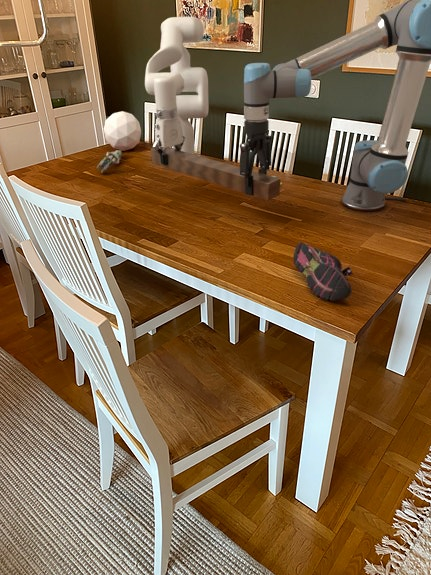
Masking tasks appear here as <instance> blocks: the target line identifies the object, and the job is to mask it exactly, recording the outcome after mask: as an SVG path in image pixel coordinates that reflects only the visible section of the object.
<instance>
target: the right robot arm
mask: <svg viewBox="0 0 431 575" xmlns="http://www.w3.org/2000/svg"><path fill="white" fill-rule="evenodd" d="M395 46H396V48H395V53H396V54H397V57H398V62H397V66H396V69H395V72H394V77H393V81H392V85H391V89H390V93H389V96H388V100H387V104H386V108H385V112H384V115H383V119H382V122H381V126H380V130H379V134H378V138H377V140H373V139H371V140H370V139H369V140H368V139H366V140H359V141H357V142H356V143H355V144H354V149H353V154H352V155H353V156H352V163H351V164H352V165H351V169H350V177H349V183H348V184H347V187H346V189H345V192H344V194H343V196H342V199H341V205H343V206H344V207H345V208H347V209H350V210H352V211H356V212H363V213H364V212H367V213H368V212H377V211H380V210H382V209H384V207H385V204H386V202H404V203H406V201H407V199H406V198H395V197H394V198H393V197H385V195H389V194H393V193H395V192H396V191H398V190H400V189H401V188H402V187H403V186H404V185H405V184H406V182H407V179H408V176H409V171H408V168H407V165H406V163H407V161H408V160H407V159H408V156H409V150H408V149H407V147H406V146H407V145H406V144H407V142H408V139H409V135H410V131H411V128H412V124H413V121H414V118H415V115H416V112H417V108H418V105H419V102H420V98H421V95H422V92H423V88H424V86H425V82H426V78H427V74H428V72H429V68H430V65H431V0H405V1H403V2H401V3H400V4H398V5H396V6H394V7H392V8H390V9H389V10H387V11H385V12H382V13H381V14H379V15H377V16H376V17H375V18H374V21H372V22H370V23H368V24H366V25H364V26H362V27H359V28H357V29H355V30H353V31H351V32H349V33H347V34H344V35H342V36H340V37H338V38H336V39H333V40H332V41H330V42H327V43H326V44H324V45H321V46H318V47H317V48H315V49H312V50H311V51H309V52H307V53H305V54H302V55H300V56H298V57H296V58H293V59H291V60H290V61H287V62H282V63H279V64H277V65H275V66H274V68H273V69H272V68H271V65H270V63H268V62H252V63H248V64H246V65H245V67H244V69H243V70H244V71H243V72H244V73H243V119H244V121H243V122H244V123H243V132H244V134H245V136H246V139H245V142H244V143H240V144H239V150H240V159H239V160H240V161H239V167H240V175H243V176H245V193H244V194H245V195H247V196H250V197H254V196H253V176H251V175H252V171H254V165H255V159H256V156H257V158H258V164H259V168H258V169H257V170H258V173H262V174H265V175H268V171H269V170H271V166H272V140H273V136H272V135H270V134H269V135H268V133H269V130H270V129H269V125H270V121H269V120H268V119H269V118H270V114H269V113H270V100H271V99H285V98H286V99H287V98H289V99H290V98H296V99H299V98H303V97H305V98H306V97H308V96H309V95H310V93H311V90H312V79H314V78H316V77H318V76H321V75H323V74H326V73H327V72H329V71H332V70H334V69H336V68H338V67H340V66H344V65H345V64H347V63H349V62H351V61H352V62H353V61H354V60H357V59H359V58H360V57H362V56H365V55H367V54H369V53H372V52H374V51H376V50H378V49H383V50H387V49H389V48H391V47H395Z"/></svg>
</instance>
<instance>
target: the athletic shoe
mask: <svg viewBox="0 0 431 575" xmlns="http://www.w3.org/2000/svg"><path fill="white" fill-rule="evenodd" d="M292 263H293V266H294V265H295V266H294V267H295V268H296V270H298V272H300V273H302V274H303V275H304V276H305V277H306V283H307V286H308V288H309V289H310V290H311V291H312V294H314V295H315V296H316V297H319V299H324V300H326V301H328V300H330V301H339V300H343V299H347V298H348V297H349V296H351V294H352V287H351V284H350V283H349V280H348V279H347V277H348V276H351V275H353V276H354V275H355V274H354V273H353V270H352V269H351V267H349V266H348V267H345V268H343V264H342V262H341V260H340V259H339V258H338V257H336V256H335V255H333V254H331V253H329V252H327V251H323V250H321V249H319V248H315V247H312V246H311V245H309V244H307V243H306V242H299V243H298V244H296V247H295V249H294V252H293V258H292Z"/></svg>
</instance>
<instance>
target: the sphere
mask: <svg viewBox="0 0 431 575" xmlns="http://www.w3.org/2000/svg"><path fill="white" fill-rule="evenodd" d="M103 134H104V138H105V141H106V142H107V143H108V144H109V145H110V146H111V147H112V148H113V149H115V150H118V151H119V150H120V151H121V152H125V151H128V150H131V149H133V148H135V147H136V146H137V145H138V144H139V143H140V142H141V136H142V129H141V123H140V121H139V120H138V119H137V118H136V117H135V115H134V114H132V113H130V112H127V111H123V110H122V111H118V112H117V111H116V112H113V113H112V114H111V115H110V116H108V117H107V118H106V119H105V121H104V126H103Z"/></svg>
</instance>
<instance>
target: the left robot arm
mask: <svg viewBox="0 0 431 575" xmlns="http://www.w3.org/2000/svg"><path fill="white" fill-rule="evenodd" d="M204 29H205V28H204V25H203V21H202V20H201V19H200V18H199V17H196V16H173V17H168V18H166V19H165V20H163V21H162V23H161V25H160V32H161V35H160V36H161V38H160V46H159V49H158V50H157V51H156V52H155V53H154V54H153V55H152V56H151V57H150V58H149V60H148V61H147V64H146V67H145V75H144V88H145V91H146V93H147V94H148V95H151V96H154V100H155V111H156V112H155V113H154V117H155V118H156V119H155V141H154V142H153V145H152V149H153V148H154V149H155V150H156V151H157V152H158V153H159V154H160V160H161V164H163V165H167V155H165V154H166V149H167V148H173V149H176V150H180V151H183V152H187V153H191V154H194V155H196V152H195V150H196V148H195V131H194V127H193V124H192V123H191V122H190V121H189V120H190V119H205V118H207V117H208V115H209V110H210V108H209V107H210V106H209V77H208V73H207V70H206V69H205V68H204V67H200V66H199V67H198V66H196V67H195V66H193V67H192V66H191V53H190V52H189V51H188V49H187V48H186V46H184V44H187V43H189V44H191V43H192V44H193V43H196V44H197V43H200V42H202V40H203V38H204V33H205V31H204ZM169 67H170V72H161V71H162V70H163V69H166V68H169ZM190 92H191V93H196V94H182V93H190ZM162 148H163V151H162ZM197 155H198V156H201V155H200V154H197Z"/></svg>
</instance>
